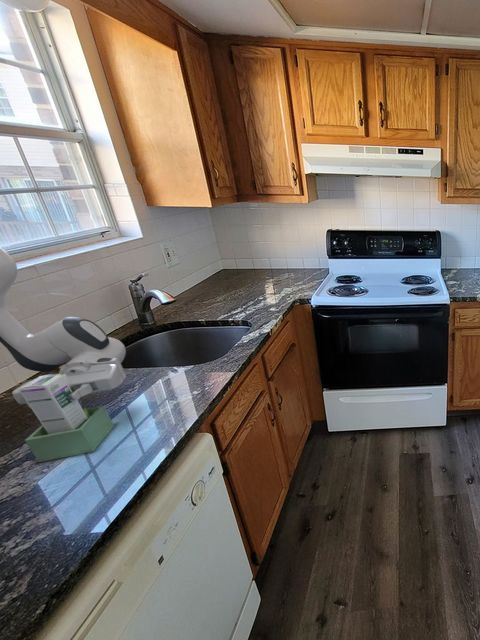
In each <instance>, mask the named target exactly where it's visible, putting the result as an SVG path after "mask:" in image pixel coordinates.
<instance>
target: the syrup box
mask: <svg viewBox="0 0 480 640" xmlns="http://www.w3.org/2000/svg"><path fill="white" fill-rule="evenodd" d="M36 378H37V379H36ZM36 378H34V379H35V380H33V379H32V380H33V381H32V382H30V383H28V384H27V385H25V386H23V387H21V388H19V391H20V392H21V394H22V395H23V397H24V398H25V400H26V401H27V403H28V404H29V406H30V407H31V408H30V409H31V410H32V412H33V414H34V415H35V416H36V418H37V419H38V420H39V422H40V424H41V425H43V427H44V428H45V430H46V431H47V433H48V434H53V433H59V432H64V431H70V430H75V429H79V428H80V427H81V426H82V425H83V424H84V423H85V422H86V421H87V420H88V419H89V417H90V415H89V413H88V411H87V410H86V406H85V405H84V403H83V401H82V399H81V397H80V398H79V399H78V400H75V401H69V400H68V398H67V395H68V394H69V393H70V392H73V391H75V389H74V388H73V386H72V384H71V382H70V381H69V379H68V377H67V376H66V374H59V373H50V374H44V375H39V376H38V377H36ZM29 406H28V407H29Z"/></svg>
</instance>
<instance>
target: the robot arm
mask: <svg viewBox="0 0 480 640" xmlns="http://www.w3.org/2000/svg"><path fill="white" fill-rule="evenodd" d="M17 276H18V266H17V263H16V261H15V260H14V258H13V257H12V256H11V255H10V254H9V253H8V252H7V251H6V250H5V249H3V248H2V247H1V246H0V344H2V345H3V346H4V347H5V348H6V350H7V351H8V352H9V353H10V354H11V356H12V357H13V359H14V360H15V362H17V363H18V364H19V366H20V367H22V368H23V369H27V370H29V371H32V372H33V371H34V372H41V373H50V372H54V371H56V370H58V369H59V368H60V369H59V372H58V374H66V376H67V377H68V379H69V381H70V382H71V384H72V386H73V388H74V389H75V391H73V392H70V393H69V394H68V395H67V398H68V400H69V401H75V400H78V399H79V398H80V399H81V398H82V397H84V396H87V395H89V394H93V393H99V392H104V391H110V390H113V389H116V388H118V387H120V385H122V383H123V382H124V380H125V379H127V375H126V372H125V370H124V367H123V365H122V363H123V361H124V360H125V357H126V353H127V349H126V346H125V344H124V343H123V342H122V341H120V340H119V339H118V338H115V337H110V336H108V335H107V333H106V332H105V331H104V330H103V328H102V327H100V326H99V325H98V324H96V323H95V322H94V321H92V320H89V319H86V318H84V317H79V316H66V317H64V318H62V319H60V320H59V321H56V322H54V323H53V324H52V325H50V326H48V327H46V328H44V329H43V330H41V331H39V332H37V333H35V334H33V333H32V332H31V333H30V332H29V330H27V329H26V328H25V327H24V326H23V324H21V323H20V322H19V321H18V320H17V319H16V318H15V317H14V316H13V315H12V314H11V313H10V312H9V311H8V309H7V308H6V306H5V298H6V296H7V294H8V292H9V290H10V289H11V287H12V286H13V284H14V283H15V281H16V279H17ZM37 378H38V377H36V378H33V379H31V380H29V381H27V382H25V383H24V384H21V385H20V386H19V387H16V388H15V389H14V390H12V391H11V395H12V397H13V399H14V400H15V401H16V402H17V403H18V404H19V405H27V407H28V408H29V409H31V407H30V406H29V404H28V403H27V401H26V400H25V398H24V397H23V395H22V394H21V392H20V391H19V388H21V387H23V386H25V385H27V384H28V383H30V382H32V381H33V380H35V379H37Z"/></svg>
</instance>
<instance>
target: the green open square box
mask: <svg viewBox="0 0 480 640" xmlns="http://www.w3.org/2000/svg"><path fill="white" fill-rule="evenodd" d="M85 408H86V407H85ZM86 410H87V411H88V413H89V415H90V417H89V419H88V420H87V421H86V422H85V423H84V424H83V425H82V426H81V427H80V428H79V429H75V430H70V431H64V432H59V433H53V434H48V433H47V431H46V430H45V428H44V427H43V425H42V424H41V425H40V426H39V427H38V428H37V429H35V430H34V431H33V432H32V433H31V434H30V435H29V436H28V437H27V438H25V439H24V442H25V443H26V446H28V448H29V450H30V451H31V452H32V454H33V455H34V457H35V459H36V460H37V462H38V463H42V462H47V461H52V460H57V459H63V458H67V457H72V456H78V455H82V454H87V453H92V452H94V451H95V450H96V449H97V448H98V446H99V445H100V444H101V443H102V441H104V439H105V438H106V437H107V435H108V434H109V433H110V432H111V430H112V429H113V428H114V426H115V424H114V422H113V421H112V419H111V417H110V415H109V413H108V411H107V409H106V407H105V405H98V406H94V407H93V406H92V407H87V408H86Z"/></svg>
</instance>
